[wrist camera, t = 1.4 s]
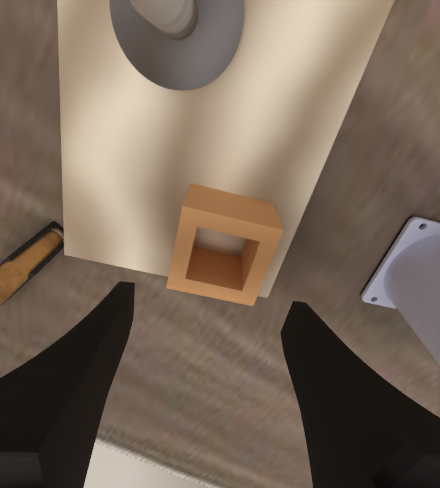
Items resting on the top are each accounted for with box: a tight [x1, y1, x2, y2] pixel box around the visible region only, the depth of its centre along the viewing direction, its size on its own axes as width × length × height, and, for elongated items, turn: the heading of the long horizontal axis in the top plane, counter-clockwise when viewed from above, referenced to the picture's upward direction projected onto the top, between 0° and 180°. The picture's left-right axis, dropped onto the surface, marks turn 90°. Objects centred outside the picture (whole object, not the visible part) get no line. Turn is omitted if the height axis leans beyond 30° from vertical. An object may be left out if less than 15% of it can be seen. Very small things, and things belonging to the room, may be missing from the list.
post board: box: [57, 0, 394, 298], centre depth 15 cm, size 16×22×7 cm
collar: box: [167, 183, 283, 306], centre depth 18 cm, size 6×6×4 cm
